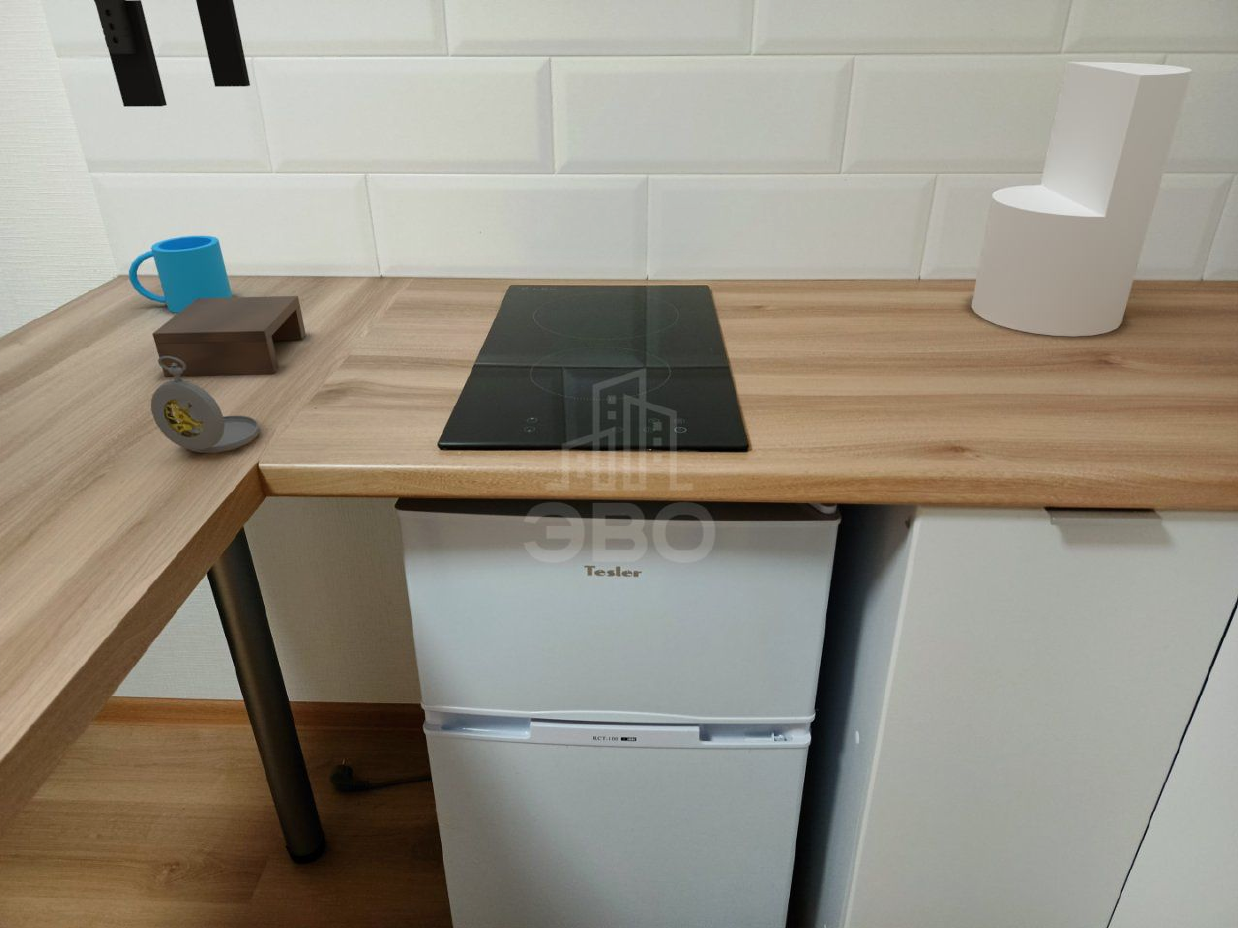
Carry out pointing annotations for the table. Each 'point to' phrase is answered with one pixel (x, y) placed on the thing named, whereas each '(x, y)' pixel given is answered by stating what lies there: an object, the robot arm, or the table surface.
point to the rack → (229, 335)
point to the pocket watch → (197, 416)
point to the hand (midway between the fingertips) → (193, 96)
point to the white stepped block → (1082, 204)
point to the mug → (185, 271)
